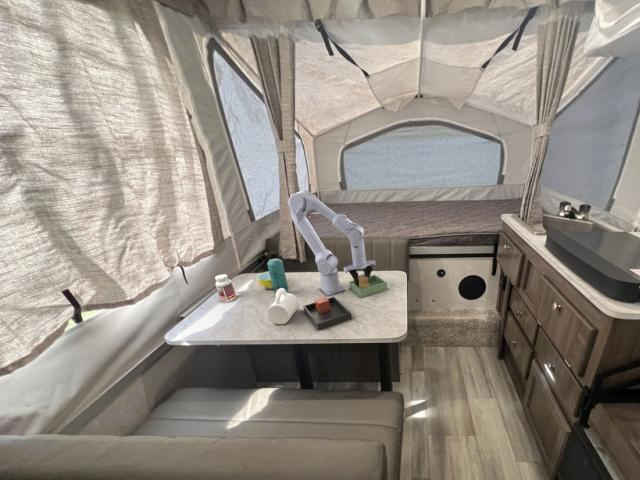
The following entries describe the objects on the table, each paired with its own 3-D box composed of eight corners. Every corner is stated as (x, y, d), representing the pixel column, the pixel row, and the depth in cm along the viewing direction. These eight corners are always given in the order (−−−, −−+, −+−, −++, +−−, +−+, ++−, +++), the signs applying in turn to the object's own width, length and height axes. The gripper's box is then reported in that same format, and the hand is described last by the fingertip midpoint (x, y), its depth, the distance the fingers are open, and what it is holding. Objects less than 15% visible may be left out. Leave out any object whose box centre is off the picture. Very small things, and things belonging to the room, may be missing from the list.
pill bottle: (237, 294, 143) (229, 272, 138) (235, 300, 138) (228, 277, 132) (222, 297, 141) (214, 275, 136) (220, 303, 136) (212, 280, 131)
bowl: (289, 284, 150) (286, 272, 147) (269, 294, 142) (266, 281, 139) (274, 280, 156) (271, 268, 153) (254, 289, 147) (250, 277, 144)
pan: (304, 311, 126) (303, 305, 125) (334, 301, 132) (334, 296, 131) (318, 330, 113) (317, 324, 112) (351, 318, 119) (351, 313, 118)
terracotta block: (316, 309, 126) (314, 299, 124) (326, 306, 128) (325, 296, 126) (320, 313, 122) (318, 303, 120) (330, 310, 124) (329, 300, 122)
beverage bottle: (277, 292, 143) (266, 250, 134) (291, 291, 144) (282, 249, 134) (273, 298, 137) (261, 255, 128) (288, 297, 138) (278, 254, 129)
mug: (270, 324, 118) (262, 296, 112) (281, 310, 127) (274, 284, 121) (291, 324, 117) (284, 296, 111) (301, 311, 126) (295, 284, 121)
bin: (350, 288, 143) (349, 281, 141) (375, 281, 149) (375, 274, 147) (361, 297, 134) (360, 290, 133) (387, 289, 140) (386, 282, 139)
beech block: (355, 285, 140) (354, 276, 138) (364, 283, 142) (363, 274, 140) (360, 288, 136) (359, 279, 134) (369, 286, 138) (368, 277, 136)
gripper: (346, 261, 126) (350, 291, 132) (378, 253, 133) (380, 282, 139) (340, 256, 131) (344, 285, 138) (370, 249, 138) (373, 277, 144)
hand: (362, 283), depth 139 cm, fingers closed on beech block, 4 cm apart
